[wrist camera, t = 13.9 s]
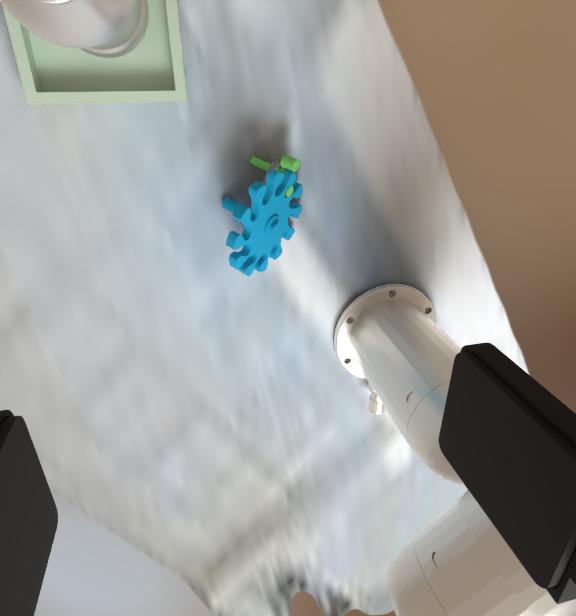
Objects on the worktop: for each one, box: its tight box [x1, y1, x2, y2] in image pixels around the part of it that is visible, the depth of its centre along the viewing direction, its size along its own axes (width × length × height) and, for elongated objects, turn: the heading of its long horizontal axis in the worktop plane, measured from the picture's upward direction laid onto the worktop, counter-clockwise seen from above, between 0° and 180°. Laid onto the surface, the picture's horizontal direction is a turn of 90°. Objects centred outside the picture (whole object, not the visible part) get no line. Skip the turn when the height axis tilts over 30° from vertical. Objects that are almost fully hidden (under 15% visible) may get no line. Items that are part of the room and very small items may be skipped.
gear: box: [222, 155, 302, 276], centre depth 40 cm, size 11×6×10 cm
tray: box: [2, 0, 187, 105], centre depth 32 cm, size 12×12×2 cm
